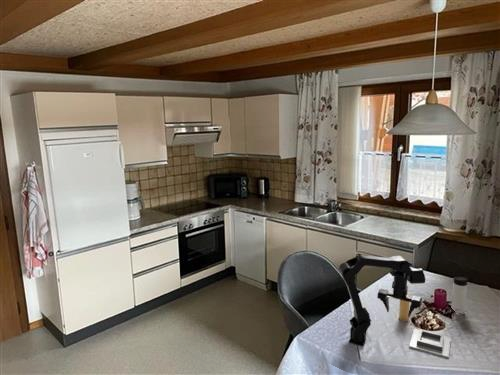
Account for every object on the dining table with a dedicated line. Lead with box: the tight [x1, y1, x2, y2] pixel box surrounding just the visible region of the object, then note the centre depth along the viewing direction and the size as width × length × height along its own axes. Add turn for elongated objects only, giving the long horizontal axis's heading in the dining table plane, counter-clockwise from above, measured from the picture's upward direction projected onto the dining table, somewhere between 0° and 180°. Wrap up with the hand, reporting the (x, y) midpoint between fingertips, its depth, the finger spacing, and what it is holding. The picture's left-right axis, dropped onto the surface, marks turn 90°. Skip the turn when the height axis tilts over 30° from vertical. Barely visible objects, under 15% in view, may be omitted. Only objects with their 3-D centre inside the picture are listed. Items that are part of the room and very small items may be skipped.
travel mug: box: [450, 276, 468, 316], centre depth 194 cm, size 6×7×20 cm
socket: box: [409, 328, 452, 359], centre depth 171 cm, size 16×16×3 cm
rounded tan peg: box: [398, 294, 411, 322], centre depth 191 cm, size 5×5×13 cm
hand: (398, 314), depth 173 cm, fingers open, 9 cm apart
